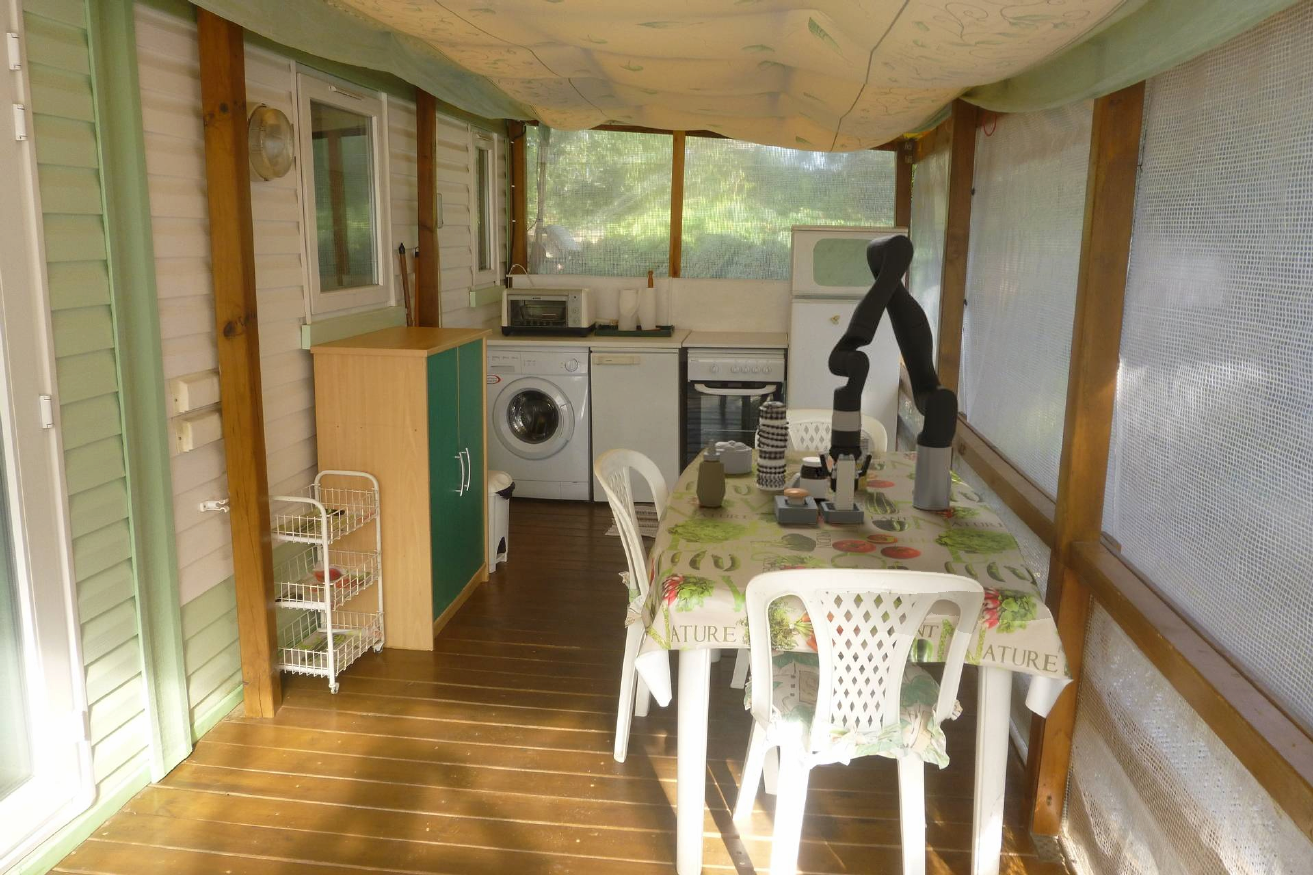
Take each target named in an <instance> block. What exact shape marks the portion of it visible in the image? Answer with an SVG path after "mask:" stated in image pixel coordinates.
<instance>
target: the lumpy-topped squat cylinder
mask: <svg viewBox="0 0 1313 875" xmlns="http://www.w3.org/2000/svg"><path fill="white" fill-rule="evenodd" d="M715 446H716V452H718V453H720V461H722V462H723V463H724V474H732V475H734V474H739V475H740V474H746V473H747V474H748V473H751V472H752V471H753V470H752V468H753V467H752V465H753V464H752V462H753V448H752V447H750V446H747V445H746V444H745V443H743V442H737V441H734V440H728V441H727V442H726V441H718V442H717V441H716V442H715Z"/></svg>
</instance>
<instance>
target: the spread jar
mask: <svg viewBox="0 0 1313 875" xmlns="http://www.w3.org/2000/svg"><path fill="white" fill-rule="evenodd" d="M801 464H802V465H801V467H800V472H797V473H795V474H794V475H793V476H792V477H791V479H790V480H789V482H788V484H787V487H786V489H791V488H797V489H804V490H807V491H809V496H813V499H814V501H815V503H816V504H821V502H827V497H828V487H829V486H828V482H829V481H828V480H829V476H825V474H824V473H823V469H822V465H821V462H820V458H819V456H806V457H802V461H801ZM826 464H827V465H828V460H827V461H826Z"/></svg>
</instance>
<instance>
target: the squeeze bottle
mask: <svg viewBox="0 0 1313 875" xmlns="http://www.w3.org/2000/svg"><path fill="white" fill-rule="evenodd" d="M715 444H716V442H715V439H710V440H709V442H708V446H707V450H706V451H705V452H703V453H702V460H701V461H699V466H698V473H697V482H696V488H695V489H696V490H695V494H696V496H697V500H698V503H699V505H700V506H703V507H705V506H706V508H707V507H708V508H716V507H720V506H722V504H723V501H724V499H725V496H726V492H727V491H726V479H725V473H724V463H723V462H722V461H720V453H718V452H716V446H715Z"/></svg>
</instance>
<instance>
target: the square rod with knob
mask: <svg viewBox="0 0 1313 875" xmlns="http://www.w3.org/2000/svg"><path fill="white" fill-rule="evenodd" d="M854 476H855V460H852V461H850V459H849V455H844V457H843V460H838V462H837V475H836V479H837V480H836V492H833V502H834V507H835V509H836V510H853V502H855V501H854V499H855V498H854V497H855V496H854V494H855V493H854Z"/></svg>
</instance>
